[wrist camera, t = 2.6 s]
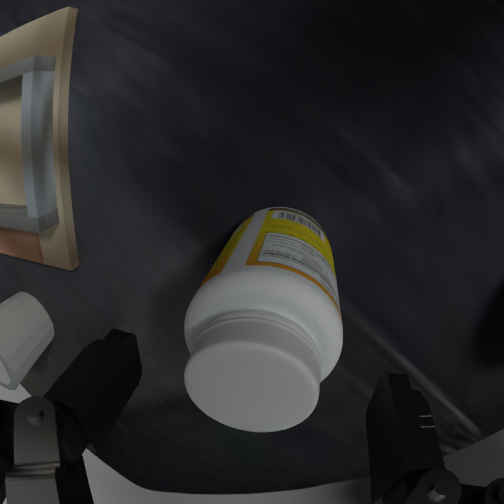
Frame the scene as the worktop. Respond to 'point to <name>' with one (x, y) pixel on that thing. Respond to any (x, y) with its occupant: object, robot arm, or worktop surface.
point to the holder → (37, 141)
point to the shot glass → (22, 337)
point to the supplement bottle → (265, 324)
